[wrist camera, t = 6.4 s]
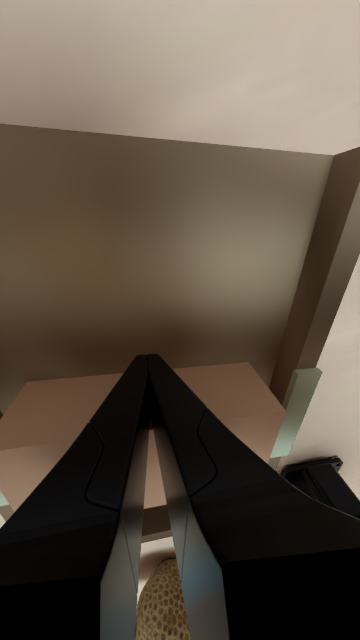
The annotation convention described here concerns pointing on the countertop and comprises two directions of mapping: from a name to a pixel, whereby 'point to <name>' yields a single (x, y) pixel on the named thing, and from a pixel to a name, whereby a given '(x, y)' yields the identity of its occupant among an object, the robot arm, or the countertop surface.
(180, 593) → the natural sponge
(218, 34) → the countertop surface
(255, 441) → the block
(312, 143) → the countertop surface
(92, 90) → the countertop surface
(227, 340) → the trap lane
